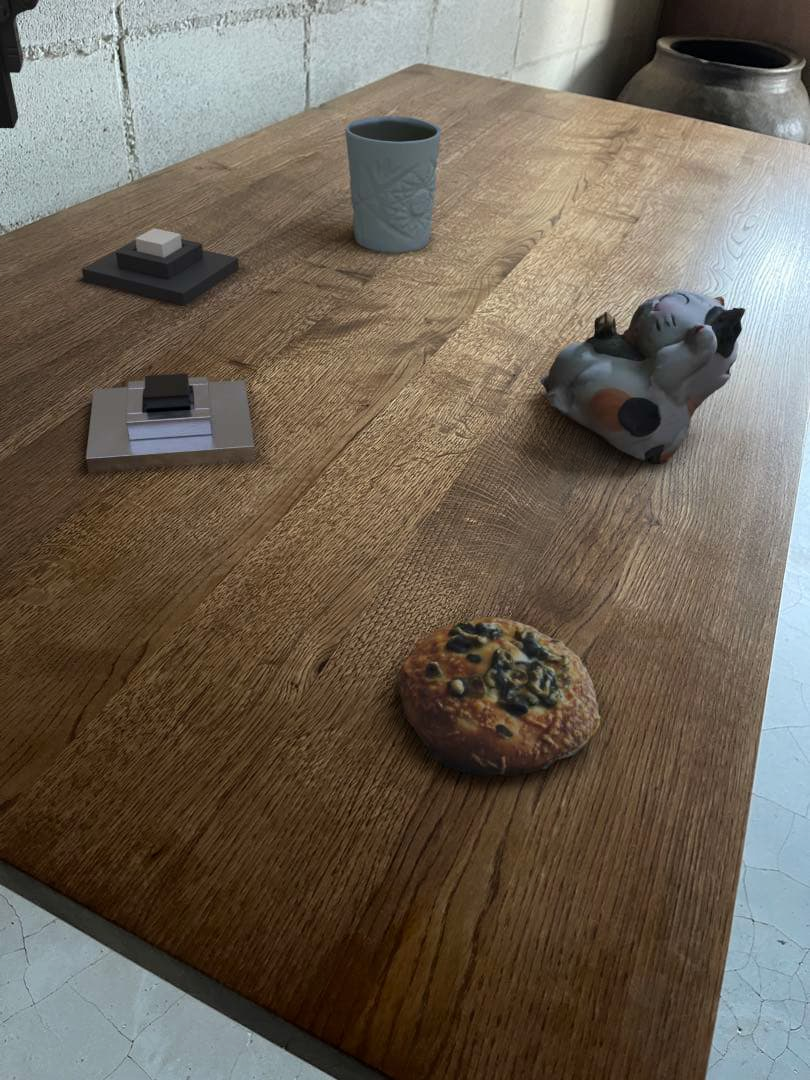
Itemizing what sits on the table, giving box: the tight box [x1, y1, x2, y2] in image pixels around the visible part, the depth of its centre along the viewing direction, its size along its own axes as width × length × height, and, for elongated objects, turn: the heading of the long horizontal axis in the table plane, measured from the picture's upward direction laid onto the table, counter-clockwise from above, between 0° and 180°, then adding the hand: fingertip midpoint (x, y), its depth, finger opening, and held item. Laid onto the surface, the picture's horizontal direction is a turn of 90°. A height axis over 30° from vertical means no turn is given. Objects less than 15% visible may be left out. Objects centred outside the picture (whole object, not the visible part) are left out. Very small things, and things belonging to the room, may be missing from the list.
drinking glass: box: [344, 115, 442, 254], centre depth 101 cm, size 10×10×12 cm
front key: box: [144, 372, 191, 413], centre depth 70 cm, size 3×3×2 cm
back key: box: [134, 227, 182, 258], centre depth 92 cm, size 3×3×2 cm
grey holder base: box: [85, 376, 256, 474], centre depth 71 cm, size 12×10×3 cm
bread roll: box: [398, 617, 602, 778], centre depth 50 cm, size 11×11×5 cm
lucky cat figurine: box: [539, 288, 746, 464], centre depth 72 cm, size 15×12×14 cm
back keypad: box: [81, 238, 240, 306], centre depth 93 cm, size 12×10×3 cm
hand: (4, 122), depth 64 cm, fingers closed
